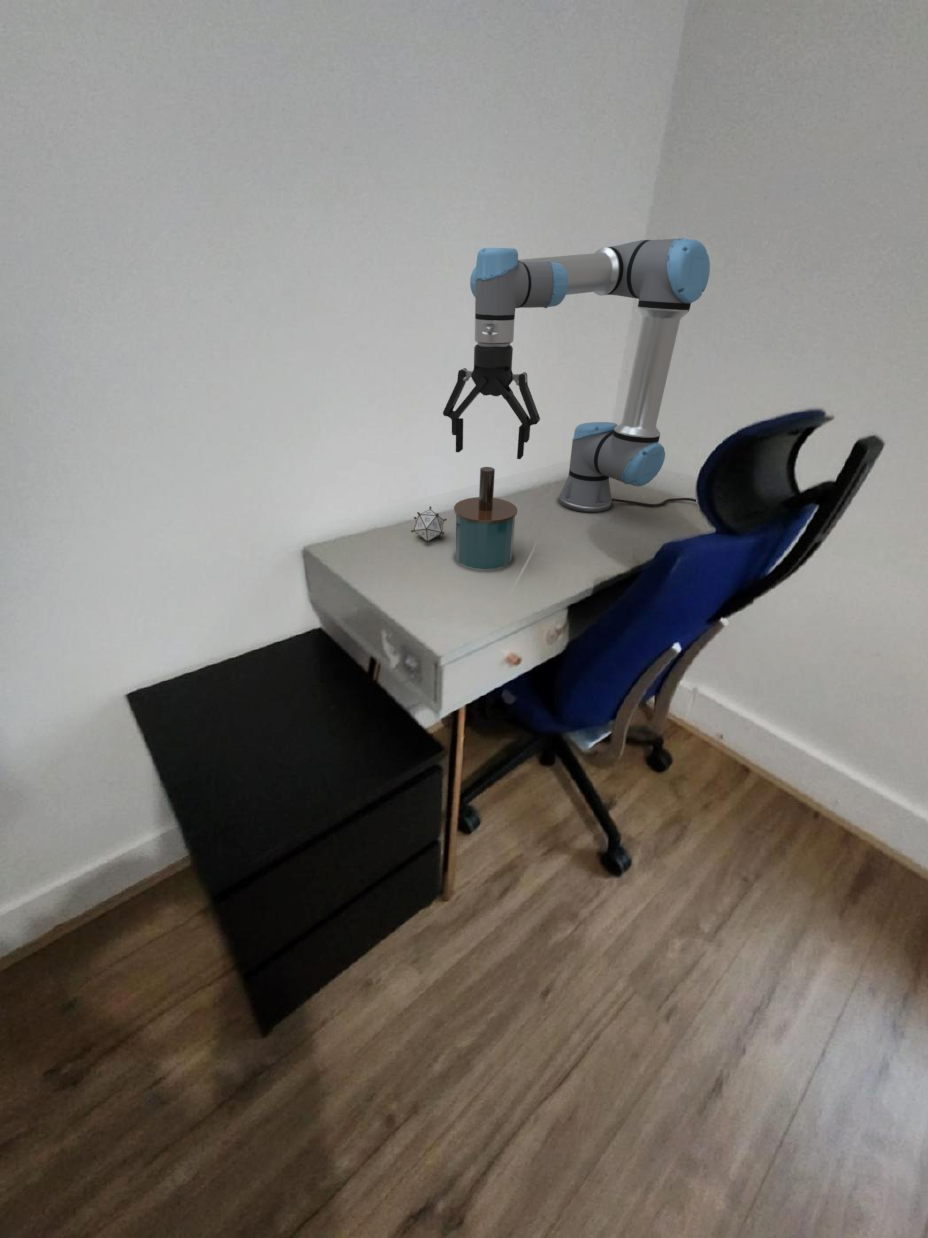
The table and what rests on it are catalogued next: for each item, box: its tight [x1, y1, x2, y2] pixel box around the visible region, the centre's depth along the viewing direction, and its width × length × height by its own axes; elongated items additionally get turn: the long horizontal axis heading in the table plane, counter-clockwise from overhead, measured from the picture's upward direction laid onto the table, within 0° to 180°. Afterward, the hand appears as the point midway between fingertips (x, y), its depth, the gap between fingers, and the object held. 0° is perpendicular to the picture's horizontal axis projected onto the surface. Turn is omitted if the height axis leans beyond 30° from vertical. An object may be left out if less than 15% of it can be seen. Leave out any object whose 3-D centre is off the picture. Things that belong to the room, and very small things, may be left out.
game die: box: [410, 505, 448, 544], centre depth 136 cm, size 9×8×10 cm
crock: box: [454, 514, 516, 570], centre depth 127 cm, size 13×14×12 cm
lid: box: [453, 466, 518, 523], centre depth 121 cm, size 14×14×10 cm
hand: (489, 454), depth 117 cm, fingers open, 13 cm apart
